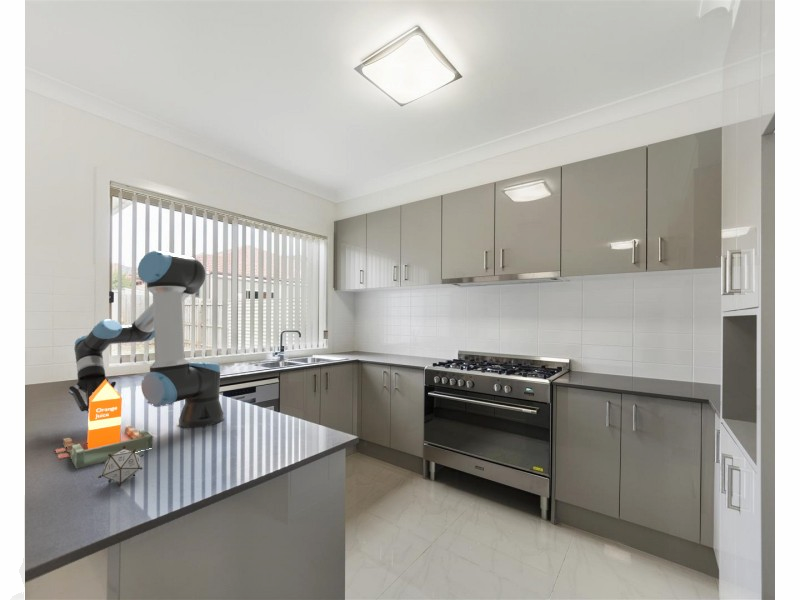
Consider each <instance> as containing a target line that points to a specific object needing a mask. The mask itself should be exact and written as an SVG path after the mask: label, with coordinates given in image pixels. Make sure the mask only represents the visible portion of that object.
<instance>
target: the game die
mask: <svg viewBox="0 0 800 600" xmlns="http://www.w3.org/2000/svg"><path fill="white" fill-rule="evenodd" d="M135 451H136V449H134V450H133V451H130V450H127V449H125V446H123V449H122V450H121V451H119V452H117V453H115V454H113V455H111V454H108V456H110V457H109V458H108V460H107V461H103V462H100V463H101V464H102V465H104V466H103V470H102V472H101V474H100V475H98V477H97V478H98V479H100V478H105V479H108V483H111V482H112V481H113V482H115V483H118V486H119V488H120V486H121V487H122V483H124V482H125V481H127V480H128V479H130V478H131V477H133V476H137V475H136V473H137V472H138V471H139V470H144V468H143V467H142V466H141V459H142V457H144V456H145V454H144V453H142V454H141V455H140V454H138V453H135Z"/></svg>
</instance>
